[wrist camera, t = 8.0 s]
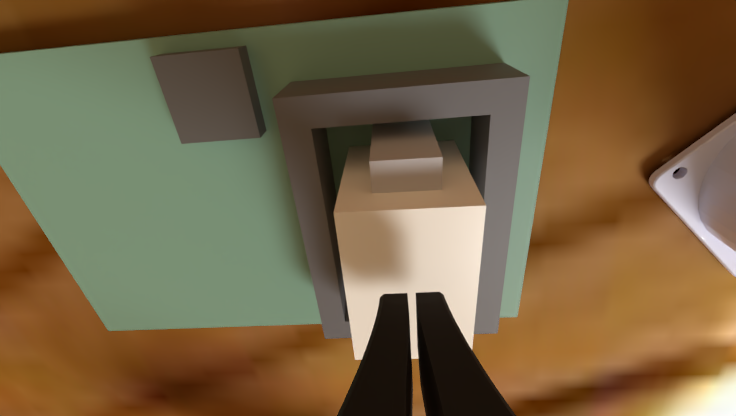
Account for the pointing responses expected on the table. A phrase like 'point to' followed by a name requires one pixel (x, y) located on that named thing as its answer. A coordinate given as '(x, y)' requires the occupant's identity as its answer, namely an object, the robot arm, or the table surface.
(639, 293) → the table surface
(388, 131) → the plug
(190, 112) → the board
